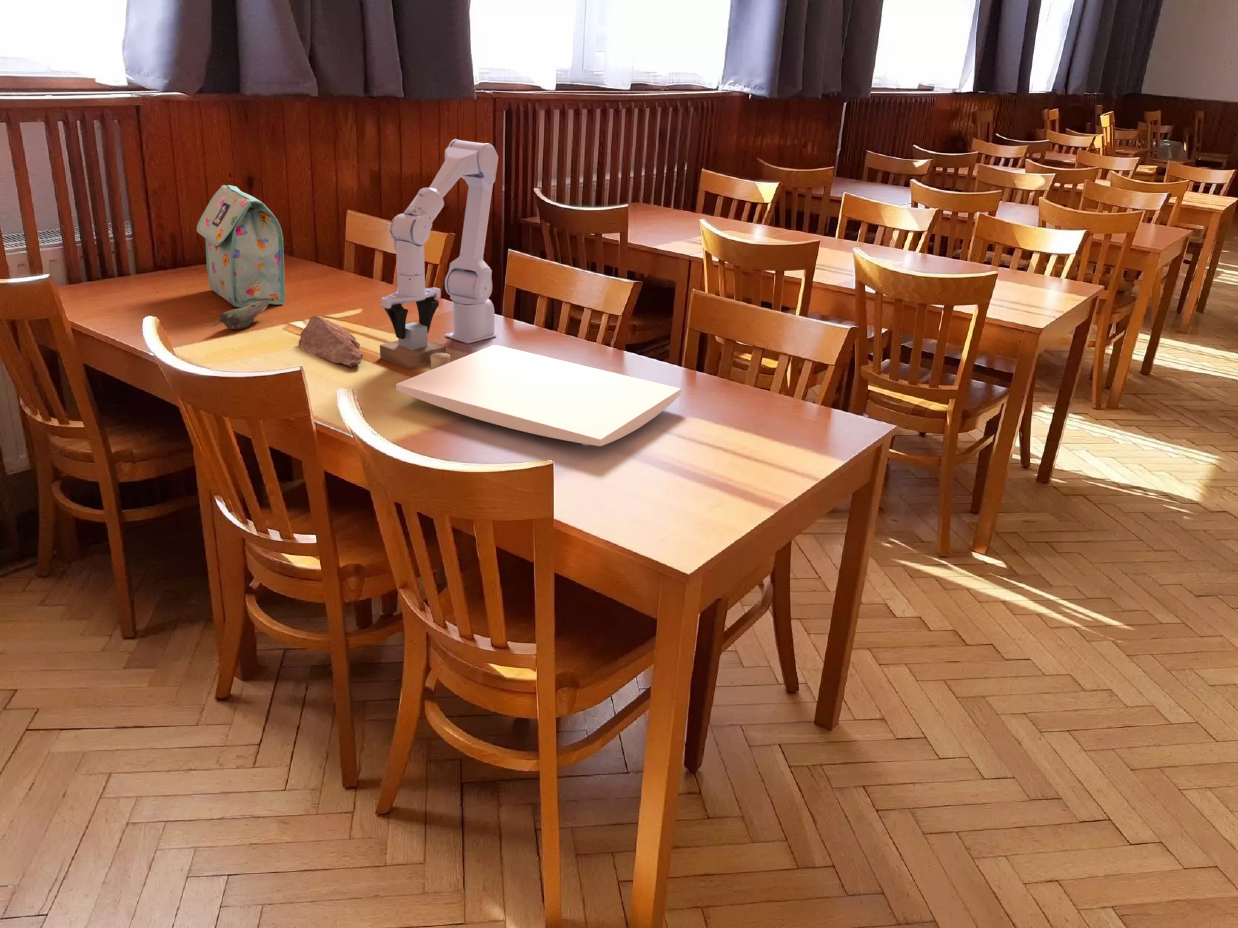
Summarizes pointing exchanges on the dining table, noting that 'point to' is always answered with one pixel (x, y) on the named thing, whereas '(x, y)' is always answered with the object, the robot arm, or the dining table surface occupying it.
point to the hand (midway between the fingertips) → (412, 335)
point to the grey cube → (414, 336)
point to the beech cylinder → (439, 359)
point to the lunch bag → (243, 248)
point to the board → (542, 395)
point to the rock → (330, 342)
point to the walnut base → (410, 354)
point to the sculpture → (242, 315)
